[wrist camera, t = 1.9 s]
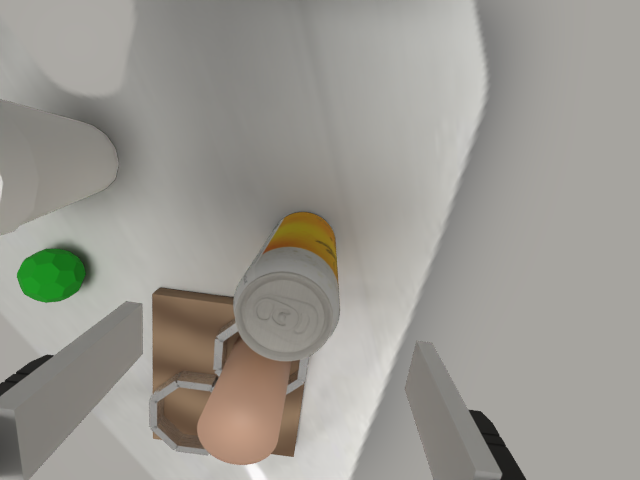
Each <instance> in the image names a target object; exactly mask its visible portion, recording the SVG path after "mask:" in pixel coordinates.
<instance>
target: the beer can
mask: <svg viewBox="0 0 640 480" xmlns="http://www.w3.org/2000/svg"><path fill="white" fill-rule="evenodd" d="M233 310H234V315H235V322H236V327H237V329H238V332H239V334H240V336H241V338H242V339H243V341H244V342H245V343H246V344H247V345H248V346H249V347H250V348H251V349H252V350H253V351H255V352H256V353H258V354H259V355H261V356H264V357H266V358H269V359H272V360H277V361H296V360H300V359H303V358H306V357H308V356H310V355H312V354H314V353H315V352H317V351H318V350H319V349H320V348H321V347H322V346H323V345H324V344H325V342H326V341H327V339H328V338H329V337H330V336H331V335H332V333H333V332H334V330H335V328H336V326H337V323H338V320H339V315H340V300H339V286H338V271H337V256H336V242H335V236H334V233H333V230H332V228H331V227H330V225H329V224H328V223H327V222H326V221H325V220H324V219H322V218H321V217H319V216H318V215H315V214H312V213H308V212H298V213H293V214H290V215H288V216H286V217H285V218H283V219H282V220H281V221H280V222H279V223H278V224H277V226H276V227H275V229H274V230H273V232H272V233H271V235H270V236H269V238H268V239H267V241H266V242H265V244H264V246H263V247H262V249H261V250H260V252H259V253H258V255H257V256H256V258H255V259H254V261H253V262H252V264H251V265H250V267H249V269H248V270H247V272H246V273H245V275H244V276H243V278H242V279H241V281H240V282H239V284H238V286H237V288H236V291H235V294H234V300H233Z"/></svg>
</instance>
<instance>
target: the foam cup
mask: <svg viewBox="0 0 640 480" xmlns="http://www.w3.org/2000/svg"><path fill="white" fill-rule="evenodd" d="M118 166H119V162H118V157H117V153H116V148H115V147H114V145H113V144H112V143H111V141H110V140H109V138H108V137H107V135H106V134H105V133H103V132H102V131H100V130H99V129H97V128H96V127H94V126H93V125H91V124H87V123H85V122H81V121H77V120H74V119H70V118H67V117H63V116H59V115H56V114H52V113H49V112H45V111H41V110H38V109H34V108H31V107H27V106H23V105H20V104H16V103H13V102H9V101H5V100H2V99H0V235H4V234H7V233H10V232H14V231H15V230H16V229H17V228H18V227H19V226H20V225H22V224H25V223H27V222H29V221H32V220H34V219H36V218H39V217H41V216H44V215H46V214H48V213H51V212H53V211H55V210H58V209H60V208H62V207H65V206H67V205H69V204H72V203H74V202H77V201H79V200H81V199H84V198H86V197H88V196H91V195H93V194H95V193H98V192H100V191H102V190H104V189H106V188H107V187H108V186H109V185H110V184H111V183H112V182H113V181H114V180H115V179H116V175H117V171H118Z"/></svg>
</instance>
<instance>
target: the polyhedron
mask: <svg viewBox="0 0 640 480" xmlns="http://www.w3.org/2000/svg"><path fill="white" fill-rule="evenodd" d="M85 275H86V273H85V269H84V265H83V263H82V262H81V260H80V259H79V258H78V257H77V256H75V255H74V254H73V253H71V252H70V251H66V250H62V249H44V250H42V251H39V252H37V253H35V254H33V255H32V256H30V257H28V258H26V259H25V260H24V261H23V263H22V265H21V267H20V269H19V271H18V273H17V278H18V281H19V284H20V287H21V289H22V291H23V293H24V294H25V295H27V296H29V297H30V298H32V299H34V300H37V301H41V302H46V303H47V302H56V301H61V300H64V299H66V298H69V297H70V296H72V295H73V294H74V293H76V292H77V291H78V290H79V288H80V286H81V284H82V282H83V280H84V277H85Z"/></svg>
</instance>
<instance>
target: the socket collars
mask: <svg viewBox="0 0 640 480" xmlns="http://www.w3.org/2000/svg"><path fill="white" fill-rule="evenodd" d="M236 332H238V329H237V327H236V322H235V319H234V320H232V321H231V322H229V323H228V324H227V325H225V326H224V327H222V328H221V329H220V331H219V333H218V334H217V336H216V338H215V347H214V365H213V370H215V371H214V372H215V373H216V374H217V375H218V376H220V374H221V372H222V370H223V368H224V366H225V363H226V361H227V360H226V351H227V339H228V338H229V337H230V336H232V335H233V334H235V333H236ZM308 359H309V356H308V357H306V358H303V359H300V364H299V370H297V371H296V372H294V373H292V374H291V375H289V380H288V386H287V392H286V395H287V394H288V393H290V392H292V391H293V390H295V389H296V388H298V387H300V386H301V385H303V384H304V382H305V379H306V373H307V366H308ZM217 375H212V374H205V373H197V372H190V371H183V372H179V373H178V374H176V375H175V376H173V377H172V378H171V379H169V380H168V381H166V382H165V383H163V384H162V385H161V386H159V387H158V388H157V389H156V391H155V392H154V393H153V395H152V396H151V398H150V400H149V427H152V428H151V430H152V431H153V432H154V433H155V434H156V435H157V436H159V437H160V438H161V439H162V440H163V441H164V442H165V443H166V444H167V445H168V446H169V447H170V448H172V449H173V450H175V449H176V451H177V452H185V453H193V454H200V455H208V454H210V453H209V452H208V451H207V450H206V449H205V448H204V447H203V445H202V444H201V442H200V440H199V437H198V436H194V435H186V434H183V433H182V432H181V431H180V430H179V429H178V428H177V427H175V426H174V425H173V424H172V423H171V422H170V421H169V420H168V419H167V418H166V417H165V416H164V397H165V396H167V395H168V394H170V393H171V392H173V391H174V390H176V389H177V388H179V387H181V388H188V389H196V390H204V391H210V392H211V393H212V391H213V389H214V387H215V385H216V382H217V380H218V378H219V377H217ZM210 455H211V454H210Z"/></svg>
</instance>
